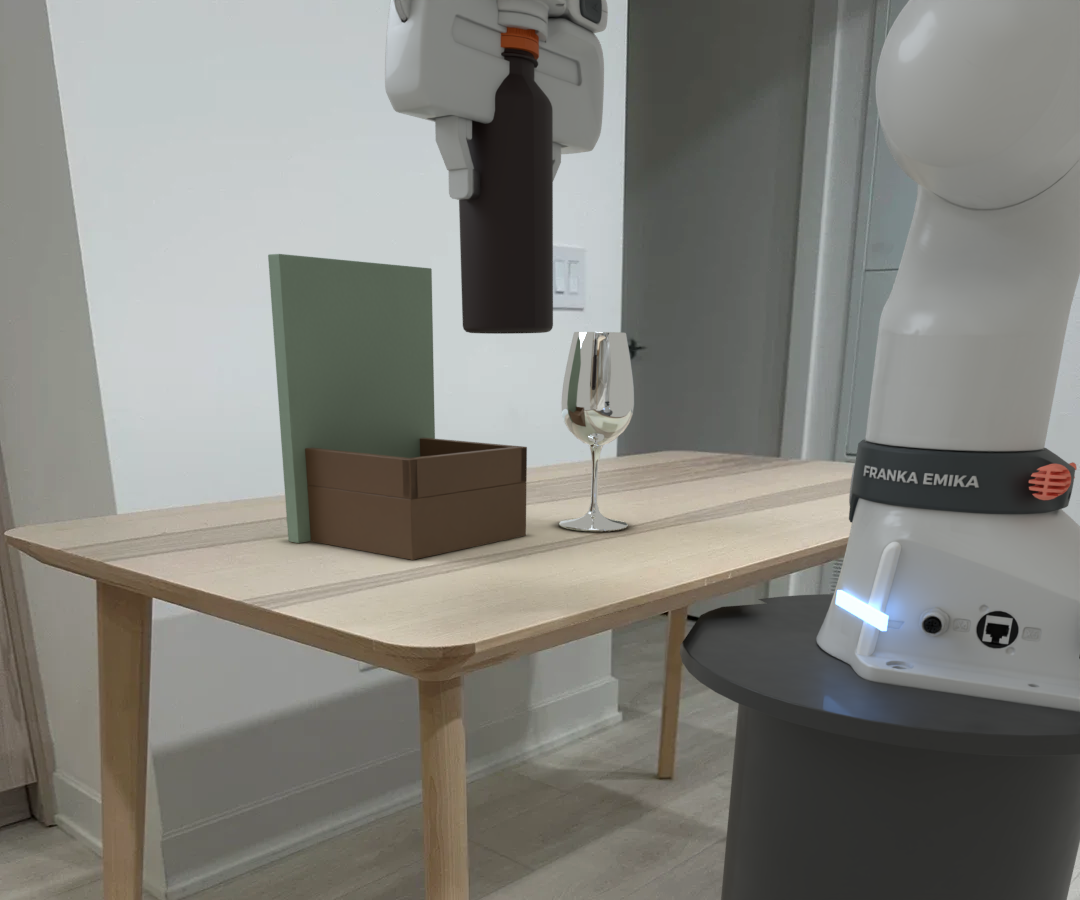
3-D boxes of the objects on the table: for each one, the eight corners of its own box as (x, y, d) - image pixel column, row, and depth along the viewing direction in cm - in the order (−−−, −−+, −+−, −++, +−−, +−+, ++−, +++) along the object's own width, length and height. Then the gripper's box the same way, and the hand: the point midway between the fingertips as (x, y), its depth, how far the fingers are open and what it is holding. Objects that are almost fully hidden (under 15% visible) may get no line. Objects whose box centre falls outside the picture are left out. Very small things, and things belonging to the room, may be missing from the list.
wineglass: (635, 523, 114) (644, 333, 107) (619, 534, 107) (628, 332, 100) (569, 518, 116) (573, 332, 109) (549, 529, 109) (552, 331, 102)
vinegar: (452, 333, 78) (442, 31, 72) (535, 333, 80) (533, 40, 74) (477, 330, 72) (468, 0, 66) (566, 331, 74) (566, 10, 68)
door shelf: (534, 533, 107) (538, 264, 98) (401, 562, 92) (390, 247, 83) (426, 517, 116) (420, 268, 107) (288, 541, 101) (267, 254, 92)
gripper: (432, -81, 59) (437, 184, 64) (621, 9, 75) (613, 218, 79) (357, -58, 63) (367, 191, 68) (552, 23, 78) (549, 222, 83)
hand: (501, 206), depth 74 cm, fingers closed on vinegar, 7 cm apart
